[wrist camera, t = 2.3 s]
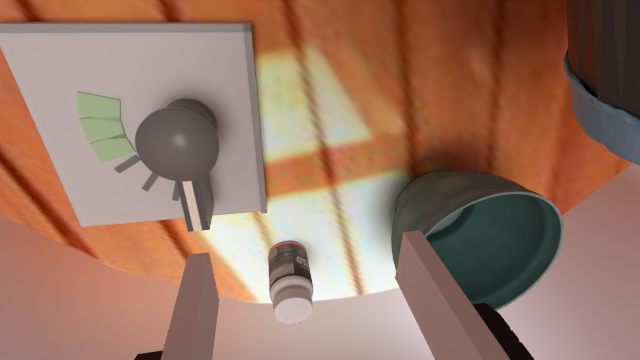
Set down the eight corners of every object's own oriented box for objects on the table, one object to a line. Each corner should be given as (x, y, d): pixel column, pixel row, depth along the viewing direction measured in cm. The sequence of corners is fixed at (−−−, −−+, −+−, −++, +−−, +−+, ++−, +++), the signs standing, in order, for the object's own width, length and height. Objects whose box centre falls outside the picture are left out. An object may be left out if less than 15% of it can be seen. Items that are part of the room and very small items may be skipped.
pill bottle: (311, 260, 41) (323, 316, 34) (277, 273, 41) (282, 332, 34) (297, 234, 38) (307, 289, 31) (261, 249, 39) (262, 306, 31)
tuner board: (4, 21, 24) (-15, 23, 22) (251, 22, 27) (250, 23, 25) (88, 217, 33) (79, 229, 31) (266, 202, 35) (267, 212, 34)
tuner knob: (146, 92, 26) (124, 111, 22) (219, 90, 27) (212, 108, 23) (175, 205, 32) (162, 238, 28) (235, 200, 33) (231, 231, 28)
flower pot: (408, 123, 34) (466, 171, 24) (518, 163, 39) (600, 215, 30) (347, 240, 40) (374, 313, 31) (448, 260, 45) (497, 328, 36)
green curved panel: (71, 91, 25) (69, 92, 25) (187, 88, 27) (186, 88, 27) (114, 208, 31) (113, 210, 31) (208, 201, 32) (208, 202, 32)
